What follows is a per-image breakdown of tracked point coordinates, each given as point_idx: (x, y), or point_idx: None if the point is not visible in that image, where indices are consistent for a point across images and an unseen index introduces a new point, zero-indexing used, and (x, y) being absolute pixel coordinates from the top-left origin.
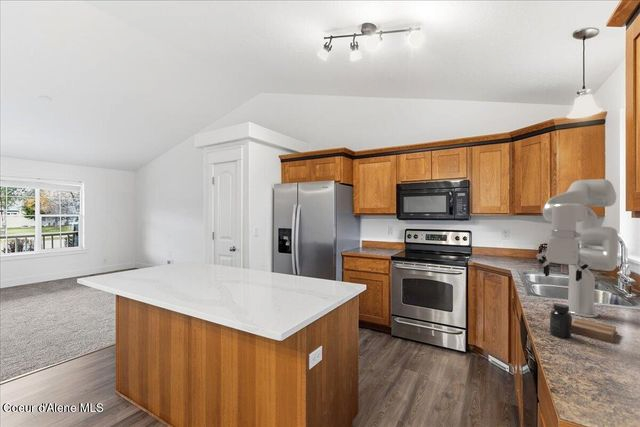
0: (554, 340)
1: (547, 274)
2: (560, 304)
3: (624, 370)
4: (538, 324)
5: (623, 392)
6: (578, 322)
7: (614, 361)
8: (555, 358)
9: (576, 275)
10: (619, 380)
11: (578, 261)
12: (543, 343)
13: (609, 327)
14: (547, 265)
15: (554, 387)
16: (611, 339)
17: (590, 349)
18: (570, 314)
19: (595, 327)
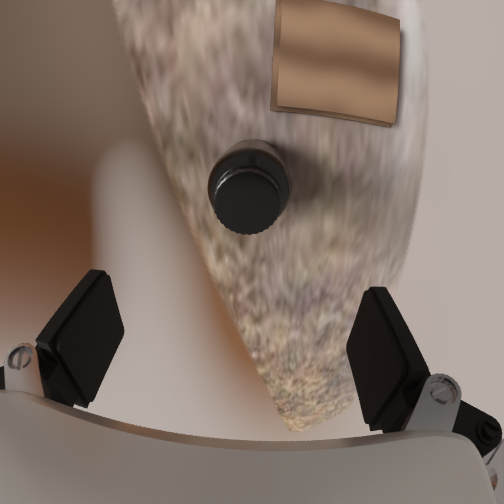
0: None
1: (117, 337)
2: (240, 185)
3: None
4: (172, 109)
5: None
6: (295, 47)
7: (373, 267)
8: (267, 337)
9: (359, 387)
10: None
11: (475, 456)
12: (229, 277)
13: (386, 37)
14: (71, 401)
15: (278, 407)
16: (387, 122)
17: (333, 229)
18: (286, 188)
19: (351, 69)
